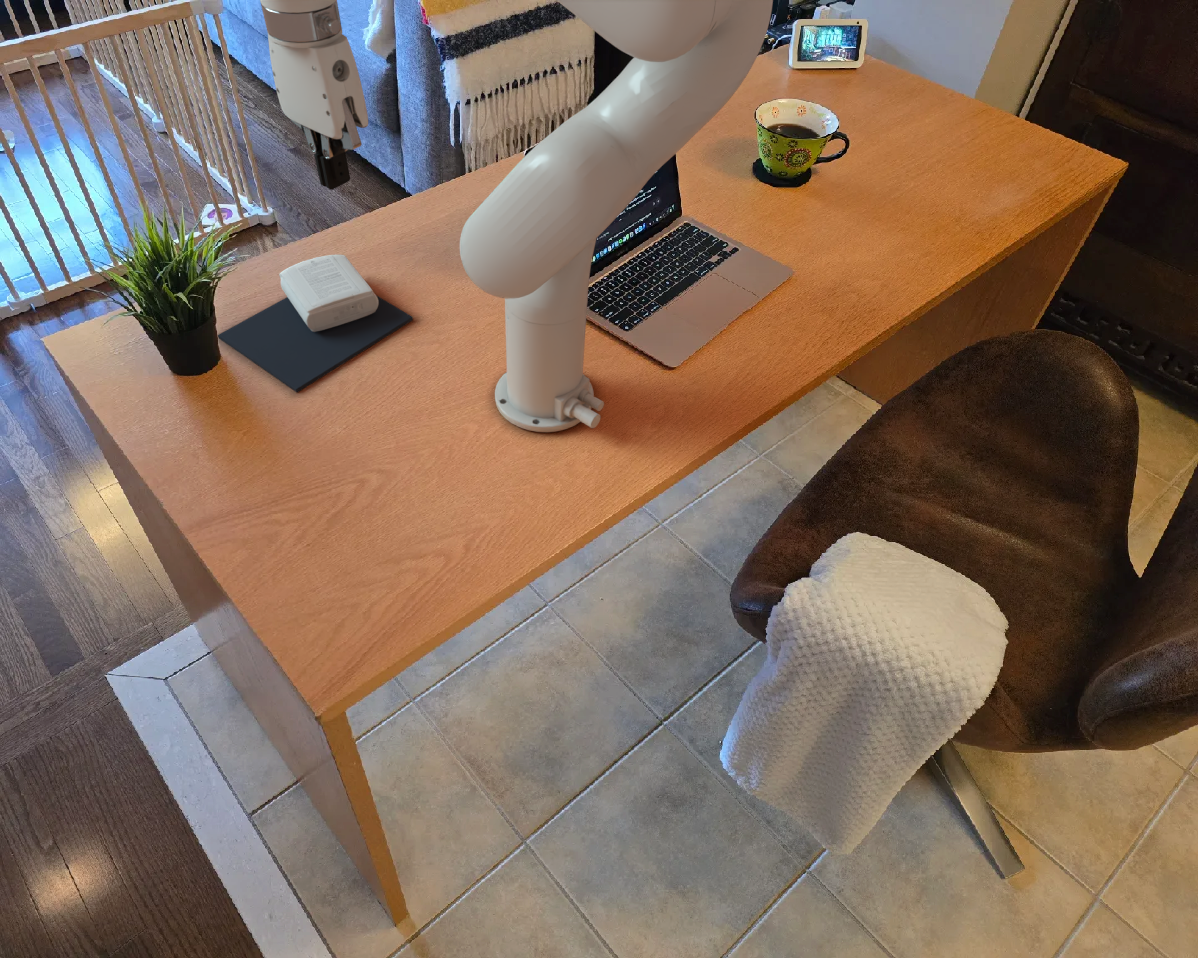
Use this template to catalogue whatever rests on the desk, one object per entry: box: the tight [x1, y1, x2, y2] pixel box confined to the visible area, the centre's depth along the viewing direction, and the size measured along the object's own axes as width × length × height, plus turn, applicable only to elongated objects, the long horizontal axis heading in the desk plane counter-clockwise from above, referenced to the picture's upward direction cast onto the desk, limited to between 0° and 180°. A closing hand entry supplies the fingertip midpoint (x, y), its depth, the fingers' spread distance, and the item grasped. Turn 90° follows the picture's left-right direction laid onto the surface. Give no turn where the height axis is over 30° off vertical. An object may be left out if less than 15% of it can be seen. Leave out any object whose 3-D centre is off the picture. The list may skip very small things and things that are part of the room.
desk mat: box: [217, 294, 414, 393], centre depth 119 cm, size 16×20×1 cm
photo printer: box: [278, 254, 378, 332], centre depth 120 cm, size 10×4×12 cm
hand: (335, 183), depth 104 cm, fingers closed
